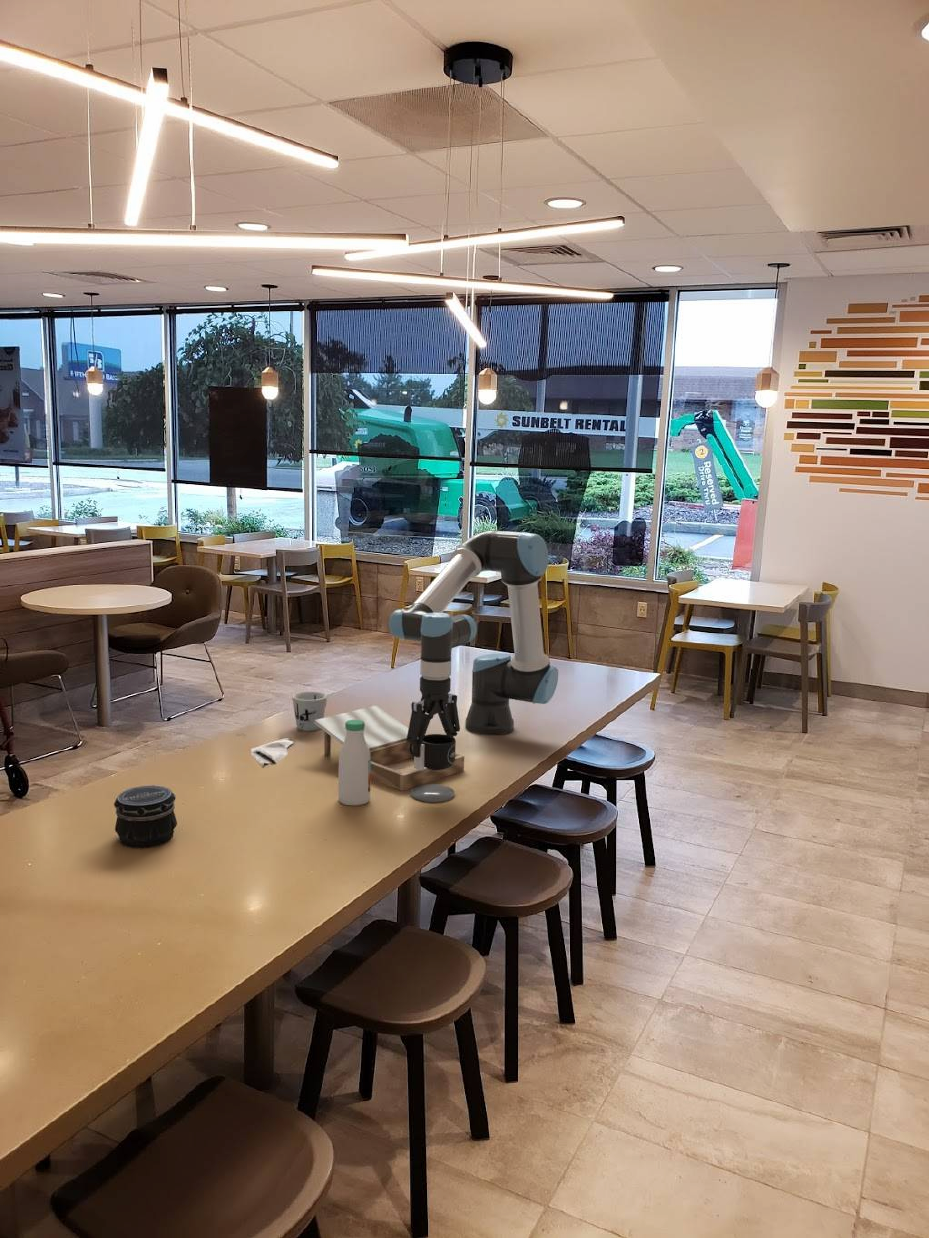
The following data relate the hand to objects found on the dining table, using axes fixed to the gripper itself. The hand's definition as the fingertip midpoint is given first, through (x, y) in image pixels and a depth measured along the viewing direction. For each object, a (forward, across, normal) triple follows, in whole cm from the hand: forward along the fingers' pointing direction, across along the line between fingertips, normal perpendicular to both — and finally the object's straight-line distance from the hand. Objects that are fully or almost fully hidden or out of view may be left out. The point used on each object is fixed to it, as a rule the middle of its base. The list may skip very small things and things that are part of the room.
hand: (433, 764), depth 231 cm
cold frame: (+8, -8, -25) cm, 27 cm away
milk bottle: (+8, +17, -10) cm, 21 cm away
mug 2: (0, +1, 0) cm, 1 cm away
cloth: (+9, +10, -54) cm, 55 cm away
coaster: (+8, 0, 0) cm, 8 cm away
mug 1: (+8, -14, -66) cm, 68 cm away
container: (+8, +64, -24) cm, 69 cm away
